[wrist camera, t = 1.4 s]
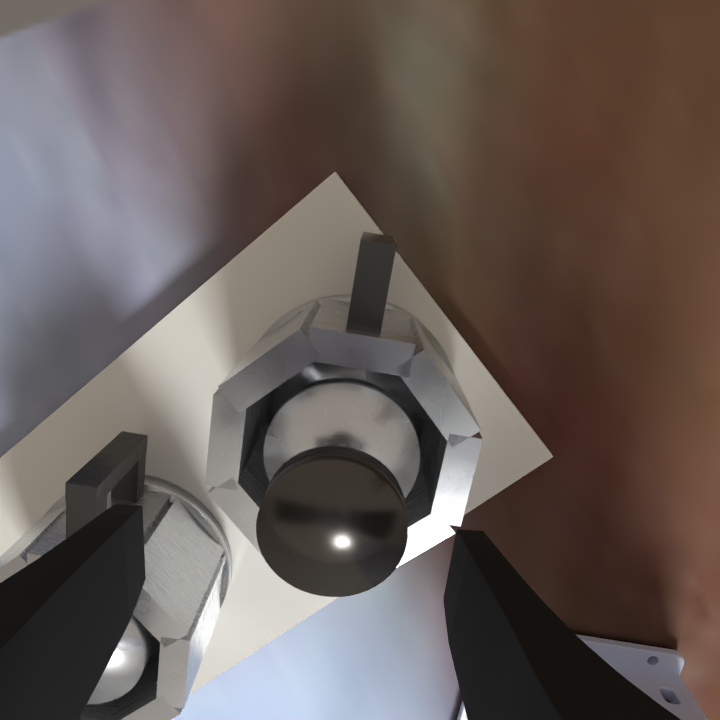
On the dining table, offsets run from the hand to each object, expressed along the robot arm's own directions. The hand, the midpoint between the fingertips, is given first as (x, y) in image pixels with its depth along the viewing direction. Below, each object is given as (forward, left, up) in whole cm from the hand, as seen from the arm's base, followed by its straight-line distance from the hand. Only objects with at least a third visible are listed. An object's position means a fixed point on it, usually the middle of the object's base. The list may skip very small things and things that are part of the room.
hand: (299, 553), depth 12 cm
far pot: (+7, +8, -10) cm, 14 cm away
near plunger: (-1, 0, -5) cm, 5 cm away
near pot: (-1, -1, -10) cm, 10 cm away
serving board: (+3, +4, -11) cm, 12 cm away
